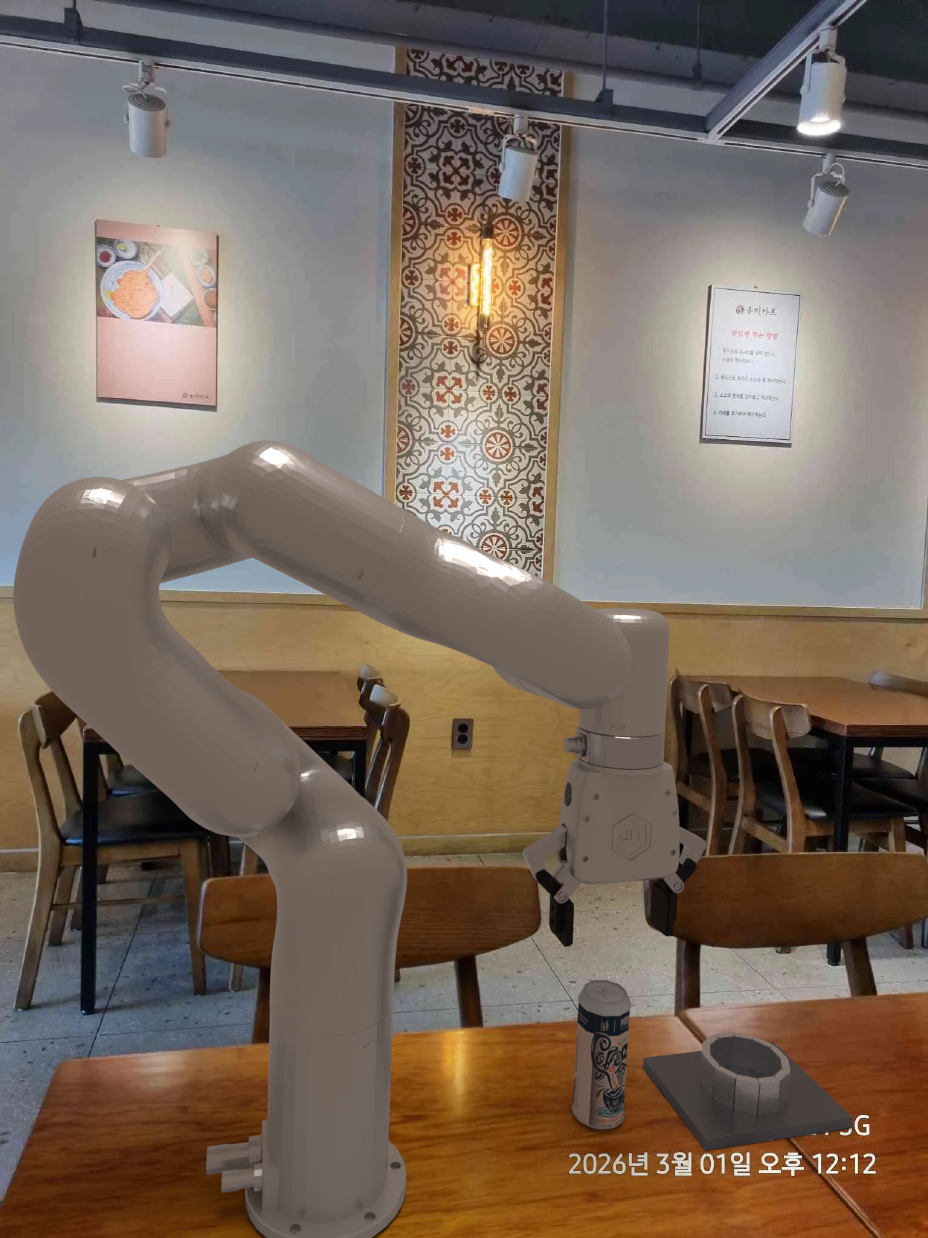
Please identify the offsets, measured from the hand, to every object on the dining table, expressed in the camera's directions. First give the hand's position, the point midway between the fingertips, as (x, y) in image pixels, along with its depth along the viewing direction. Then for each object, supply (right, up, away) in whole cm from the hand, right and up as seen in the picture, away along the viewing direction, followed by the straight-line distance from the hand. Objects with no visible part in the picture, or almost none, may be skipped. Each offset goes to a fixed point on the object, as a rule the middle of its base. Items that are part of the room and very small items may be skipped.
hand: (612, 934), depth 76 cm
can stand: (+13, -17, +5) cm, 22 cm away
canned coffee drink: (-1, -17, +1) cm, 17 cm away
